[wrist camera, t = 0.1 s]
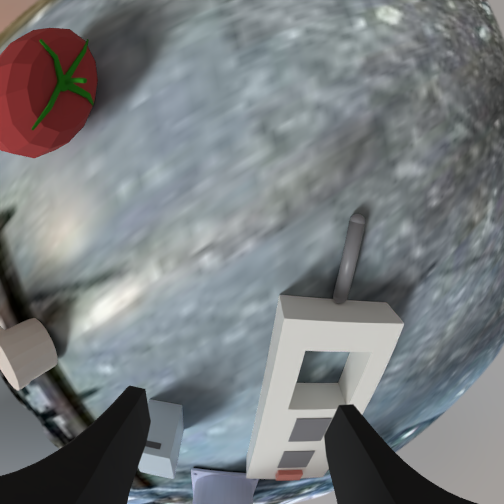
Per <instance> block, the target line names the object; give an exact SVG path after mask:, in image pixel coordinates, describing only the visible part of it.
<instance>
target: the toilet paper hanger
mask: <svg viewBox="0 0 504 504" xmlns="http://www.w3.org/2000/svg"><path fill="white" fill-rule="evenodd" d="M56 364H57V353H56V349H55V347H54V344H53V342H52V340H51V337H50V336H49V334H48V332H47V331H46V329H45V327H44V326H43V325H42V324H41V323H40V321H38V320H37V319H36V318H32V319H28V320H26V321H24V322H21V323H19V324H17V325H15V326H13V327H11V328H9V329H6V330H4V329H3V328H2V327H1V326H0V369H1V371H2V372H3V374H4V376H5V377H6V378H7V380H8V381H9V383H10V384H11V385H12V386H13V387H14V388H15V389H16V390H20V389H22V388H23V387H25V386H26V385H28V384H29V383H30V381H31V380H33V379H35V378H36V377H38V376H40V375H41V374H43V373H44V372H46V371H48V370H49V369H51V368H52V367H54V366H55V365H56Z"/></svg>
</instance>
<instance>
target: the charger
mask: <svg viewBox="0 0 504 504" xmlns="http://www.w3.org/2000/svg"><path fill="white" fill-rule="evenodd" d="M148 409H149V414H150V419H151V424H150V428H149V433H148V438H147V442H146V445H145V448H144V451H143V454H142V457H141V460H140V462H139V465H138V467H139V470H140V472H144V473H148V474H152V475H157V476H161V477H166V478H172V479H174V477H175V472H176V467H177V461H178V456H179V451H180V446H181V442H182V437H183V432H184V424H183V409H182V405H179V404H174V403H168V402H162V401H157V400H152V399H149V402H148Z"/></svg>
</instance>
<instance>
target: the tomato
mask: <svg viewBox="0 0 504 504" xmlns="http://www.w3.org/2000/svg"><path fill="white" fill-rule="evenodd" d="M87 45H88V39H87V41H86V42H85V41H84V40H83V39H82V38H81V37H79V36H78V35H77V34H75V33H74V32H73V31H71V30H70V29H59V28H46V29H38V30H33V31H31V32H29V33H27V34H25V35H24V36H22V37H20V38H18V39H17V40H15V41H13V42H12V43H10V44H9V46H8V47H7V48H6V49H5V50H4V51H3V52H2V54H1V55H0V150H1V151H5V152H9V153H13V154H17V155H22V156H26V157H31V158H36V157H39V156H41V155H44V154H46V153H49V152H52V151H54V150H56V149H58V148H60V147H61V146H63V145H65V144H66V143H68V142H70V140H71V139H72V138H73V137H74V136H75V135H76V134H77V133H78V132H79V131H80V130H81V129H82V128H83V127H84V125H85V123H86V120H87V118H88V116H89V114H90V111H91V109H92V107H93V105H94V100H95V94H96V88H97V81H98V78H97V71H96V63H95V60H94V58H93V56H92V54H91V52H90V50H89V48H88V46H87Z"/></svg>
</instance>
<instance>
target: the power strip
mask: <svg viewBox="0 0 504 504" xmlns="http://www.w3.org/2000/svg"><path fill="white" fill-rule="evenodd" d="M364 227H365V218H364V217H363V216H362V215H361V214H354V215H352V216H351V218H350V221H349V226H348V231H347V236H346V241H345V246H344V250H343V255H342V260H341V264H340V269H339V273H338V277H337V281H336V286H335V290H334V294H333V298H334V299H326V298H313V297H301V296H289V295H279V299H278V304H277V310H276V315H275V321H274V326H273V332H272V337H271V342H270V348H269V353H268V358H267V363H266V368H265V373H264V378H263V383H262V388H261V393H260V398H259V402H258V407H257V412H256V416H255V421H254V425H253V430H252V434H251V439H250V443H249V448H248V452H247V464H246V478H249V479H276V481H284V480H300V478H314V477H323V476H324V474H325V473H326V472H327V470H328V469H329V466H328V462H327V458H326V450H325V440H324V434H325V433H326V431H327V429H328V427H329V425H330V423H331V421H332V419H333V416H334V414H335V412H336V410H337V408H338V406H339V405H349V404H354V406H355V407H356V408H357V409H358V411H359V412H360V413H361V414H363V412H364V410H365V408H366V407H367V405H368V403H369V401H370V399H371V397H372V395H373V393H374V391H375V389H376V387H377V385H378V383H379V381H380V379H381V377H382V375H383V373H384V371H385V369H386V366H387V364H388V362H389V360H390V357H391V355H392V353H393V351H394V348H395V346H396V343H397V341H398V339H399V336H400V334H401V331H402V328H403V326H404V323H403V321H402V320H401V319H400V318H399V317H398V315H397V314H396V313H395V312H394V311H393V309H392V308H391V307H390V306H389V305H388V303H387V302H370V301H354V300H347V299H348V295H349V291H350V288H351V284H352V280H353V276H354V272H355V268H356V264H357V259H358V255H359V251H360V246H361V242H362V237H363V232H364ZM305 351H329V352H350V353H349V356H348V358H347V361H346V364H345V366H344V369H343V372H342V374H341V377H340V379H339V382H338V383H296V382H297V378H298V375H299V371H300V368H301V364H302V361H303V357H304V354H305Z"/></svg>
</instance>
